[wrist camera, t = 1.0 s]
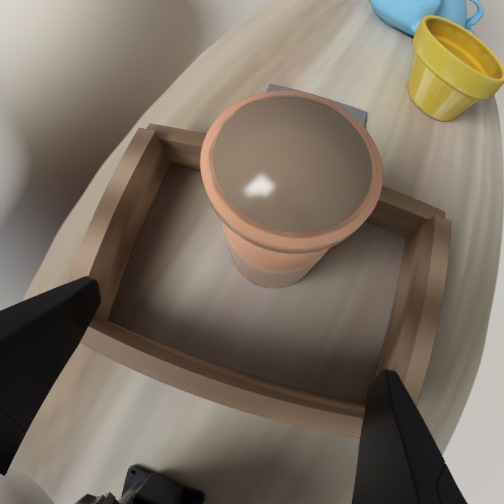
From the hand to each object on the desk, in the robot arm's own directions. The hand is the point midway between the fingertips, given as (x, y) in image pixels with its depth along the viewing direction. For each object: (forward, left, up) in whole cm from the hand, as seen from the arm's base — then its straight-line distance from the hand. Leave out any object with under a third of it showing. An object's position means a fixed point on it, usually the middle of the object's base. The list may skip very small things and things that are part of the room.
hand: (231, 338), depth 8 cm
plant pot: (+30, -13, -14) cm, 36 cm away
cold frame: (+4, 0, -14) cm, 14 cm away
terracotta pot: (+7, 0, -14) cm, 15 cm away
